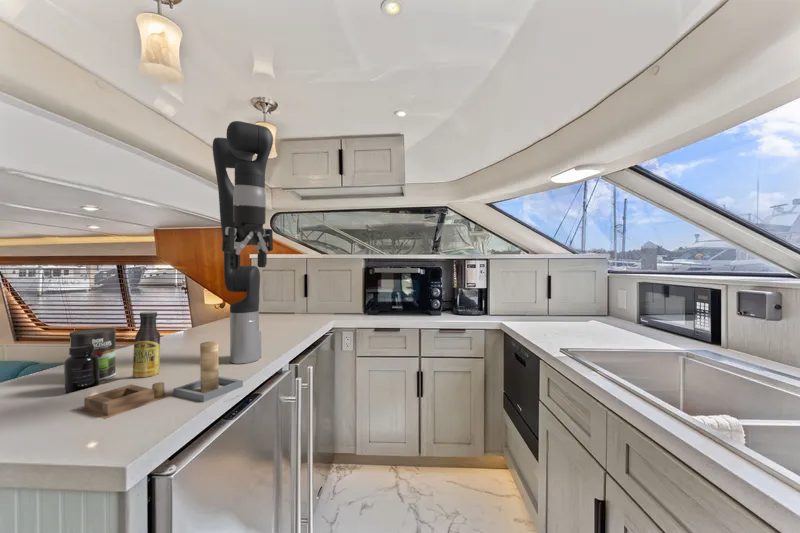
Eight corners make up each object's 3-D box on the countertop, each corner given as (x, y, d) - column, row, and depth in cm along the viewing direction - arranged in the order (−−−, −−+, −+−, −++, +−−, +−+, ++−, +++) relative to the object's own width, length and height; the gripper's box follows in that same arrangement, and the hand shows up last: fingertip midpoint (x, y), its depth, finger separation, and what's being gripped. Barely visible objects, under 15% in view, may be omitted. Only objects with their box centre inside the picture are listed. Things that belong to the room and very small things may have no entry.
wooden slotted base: (146, 394, 87) (145, 377, 87) (173, 400, 83) (173, 382, 83) (77, 416, 75) (76, 396, 75) (105, 425, 70) (104, 404, 70)
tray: (213, 386, 93) (213, 375, 93) (242, 392, 89) (242, 380, 89) (173, 400, 83) (173, 388, 83) (203, 408, 79) (203, 395, 79)
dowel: (211, 390, 88) (211, 340, 88) (222, 392, 87) (221, 342, 87) (197, 395, 85) (196, 344, 85) (207, 398, 83) (207, 345, 83)
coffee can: (120, 376, 102) (120, 329, 102) (73, 386, 94) (73, 335, 94) (111, 370, 108) (111, 326, 108) (66, 378, 100) (66, 331, 100)
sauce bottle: (128, 384, 95) (127, 314, 95) (139, 377, 101) (138, 311, 101) (155, 382, 96) (154, 313, 96) (164, 375, 102) (163, 310, 102)
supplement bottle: (64, 390, 90) (64, 345, 90) (98, 384, 95) (98, 341, 95) (64, 397, 86) (64, 350, 86) (100, 390, 90) (99, 345, 90)
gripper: (259, 207, 93) (258, 265, 95) (214, 201, 80) (214, 269, 82) (281, 207, 91) (280, 267, 92) (237, 202, 78) (237, 272, 79)
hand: (249, 268), depth 87 cm, fingers open, 8 cm apart
